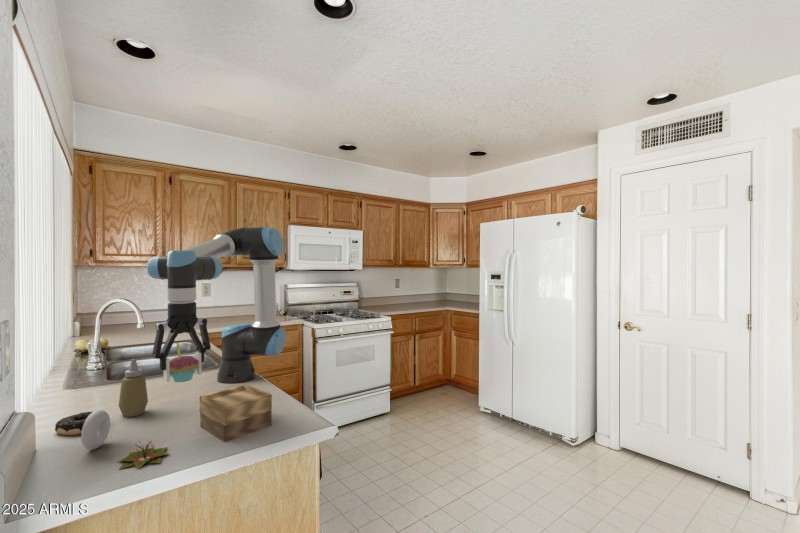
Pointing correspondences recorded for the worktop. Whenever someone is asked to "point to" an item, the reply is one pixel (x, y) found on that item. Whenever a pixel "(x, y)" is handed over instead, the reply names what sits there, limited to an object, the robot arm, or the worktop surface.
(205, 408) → the tower top
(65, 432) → the donut
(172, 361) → the cupcake
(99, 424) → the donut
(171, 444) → the worktop surface
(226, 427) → the tower base
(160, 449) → the lily flower
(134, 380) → the squeeze bottle
